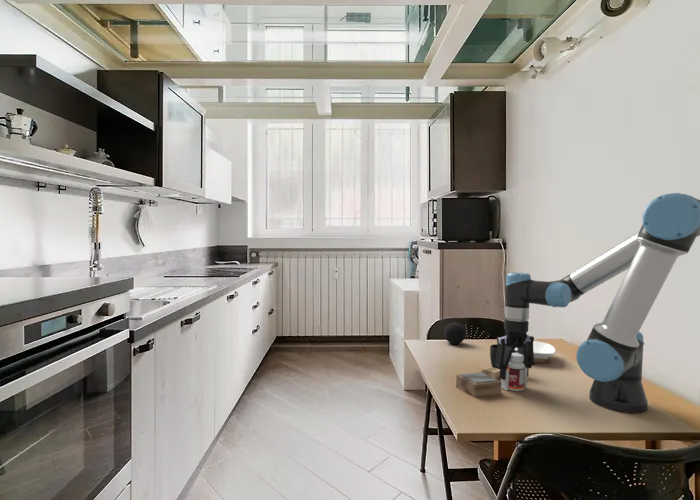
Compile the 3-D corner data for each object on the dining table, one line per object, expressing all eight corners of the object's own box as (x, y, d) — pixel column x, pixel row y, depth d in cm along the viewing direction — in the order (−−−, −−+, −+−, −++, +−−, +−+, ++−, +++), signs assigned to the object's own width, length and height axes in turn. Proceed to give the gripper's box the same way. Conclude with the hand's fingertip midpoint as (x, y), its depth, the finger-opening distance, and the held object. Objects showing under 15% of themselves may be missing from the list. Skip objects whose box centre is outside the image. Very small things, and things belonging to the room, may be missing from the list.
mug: (523, 378, 151) (524, 352, 151) (488, 373, 156) (489, 348, 156) (523, 372, 159) (524, 347, 158) (490, 367, 163) (491, 343, 163)
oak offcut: (502, 378, 151) (502, 369, 151) (494, 381, 148) (494, 372, 148) (489, 374, 155) (489, 366, 155) (481, 377, 152) (482, 368, 151)
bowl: (558, 368, 165) (559, 355, 165) (499, 362, 172) (500, 349, 172) (551, 354, 185) (552, 342, 185) (499, 349, 192) (499, 337, 192)
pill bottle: (500, 387, 141) (502, 354, 141) (509, 383, 145) (510, 351, 145) (518, 393, 137) (520, 358, 136) (527, 388, 141) (528, 355, 141)
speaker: (439, 343, 200) (440, 322, 200) (451, 340, 207) (452, 319, 207) (457, 347, 193) (458, 325, 193) (469, 344, 200) (470, 323, 199)
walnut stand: (500, 394, 135) (501, 380, 135) (475, 397, 132) (475, 383, 132) (480, 383, 145) (481, 371, 145) (456, 386, 141) (456, 373, 141)
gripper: (531, 315, 147) (528, 380, 148) (484, 318, 140) (481, 386, 141) (548, 320, 140) (545, 388, 141) (499, 322, 133) (497, 394, 134)
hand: (513, 387), depth 141 cm, fingers open, 7 cm apart
